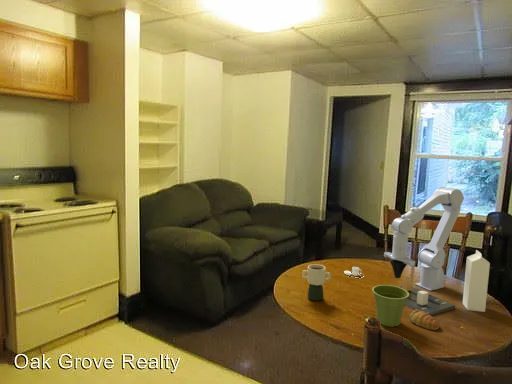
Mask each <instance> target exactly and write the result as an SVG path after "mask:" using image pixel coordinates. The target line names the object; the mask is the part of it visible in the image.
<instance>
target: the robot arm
mask: <svg viewBox="0 0 512 384" xmlns="http://www.w3.org/2000/svg"><path fill="white" fill-rule="evenodd" d="M464 200H465V197H464V195H463V191H461V190H460V189H458V188H450V187H449V188H448V187H445V186H440V187H438V188H437V189H436V190H434V191H433V193H432V194H431V196H430V197H428V198H427V199H426V200H425V201H424V202H423V203H422V204H420V205H419V206H418V207H416V206H414V207H411V208H409V210H408V211H406V213H404V214H402V215H401V216H400V217H397V218H395V219H393V220H392V222H391V224H390V226H391V229H392V234H393V236H392V248H391V249H392V251H391V252H388V251H385V252H384V253H383V257H385V258H389V259H391V260H389V263H390V265H391V267H392V271H393V276H394V278H395V279H399V278H401V277H402V274H403V272H404V269H405V268H406V267H407V265H408V266H409V267H415V266H416V261H415V260H413V259H411V258H409V257H407V255H408V243H409V241H408V240H409V233H411V231H412V229H413V227H414V226H415V225H416V224H418V223H419V222H420V221H421V220H422V219H424V217H425V214H426V213H427V212H429V211H431V210H432V209H433V208H435V207H437V206H438V205H441V207H442V208H443V210H444V212H443V214H442V216H441V218H440V220H439V222H438V225H437V227H436V228H435V231H434V233H433V235H432V238H431V239H430V241H429V243H427V244H424V245H423V248H422V249H421V250H420V251H419V252H418V254H417V259H418V261H419V262H420V263H419V264H420V275H419V282H415V283H414V284H415V285H416V286H418V287H420V288H423V289H425V290H428V291H430V292H431V291H434V290H438V289H442V288H445V285H444V275H445V273H444V272H445V271H444V269H443V268H442V267H443V266H444V264H445V258H446V256H447V255H446V253H445V250H444V247H445V245H446V243H447V240H448V239H449V236H450V235H451V232H452V230H453V227H454V225H455V223H456V221H457V219H458V217H459V215H460V212H461V207H462V203H464V202H463V201H464Z"/></svg>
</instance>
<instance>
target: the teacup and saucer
mask: <svg viewBox="0 0 512 384" xmlns="http://www.w3.org/2000/svg"><path fill="white" fill-rule="evenodd" d="M351 268H352V270H351V271H349V270H344V271H343V273H344V274H345V275H346V276H347V275H349V276H353V275H354V276H353V277H358V276H360V274H359V273H362V269H360V267H358V266H352V267H351ZM351 272H352V273H351ZM360 277H361V276H360ZM363 278H365V275H364V276H363V277H361V278H360V279H363Z"/></svg>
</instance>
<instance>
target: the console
mask: <svg viewBox="0 0 512 384" xmlns="http://www.w3.org/2000/svg"><path fill="white" fill-rule="evenodd" d="M399 287H400V288H402V285H401V286H399ZM419 291H421V290H420V289H418V288H415V287H413V286H412V290H410V291H407V292H408V293H409V296H408V297H407V299H406V302H405V305H404V306H407V307H409V308H411V309H413V310H416V309H417V310H419V311H421V312H422V311H424V312H425V313H428V314H429V315H430V316H434V315H437V314H441V313H443V312H447V311H450V310H453V309H456V304H453V303H451V302H448V301H446V300H444V299H442V298H439V297H437V296H434V295H432V294H430V293H428V304H426V305H420V304H418V303H417V293H418V292H419Z"/></svg>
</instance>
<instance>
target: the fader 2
mask: <svg viewBox="0 0 512 384" xmlns="http://www.w3.org/2000/svg"><path fill="white" fill-rule="evenodd" d="M428 294H429V292H428V291H425V290H420V291H419V292H418V293H417V303H418V304H420V305H426V304H428Z"/></svg>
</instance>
